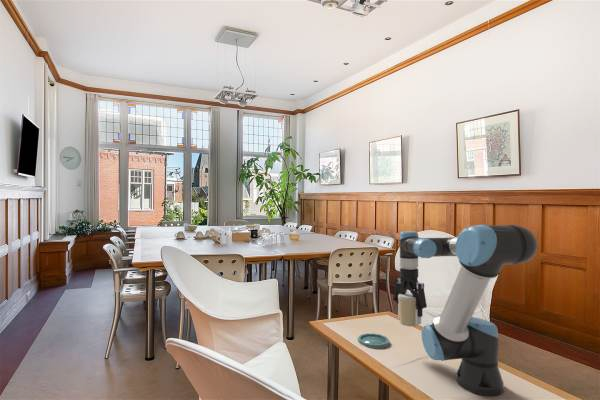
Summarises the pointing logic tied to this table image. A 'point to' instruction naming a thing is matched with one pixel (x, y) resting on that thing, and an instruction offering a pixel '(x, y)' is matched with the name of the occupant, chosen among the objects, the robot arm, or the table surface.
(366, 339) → the saucer
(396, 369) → the table surface
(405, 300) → the coffee cup
